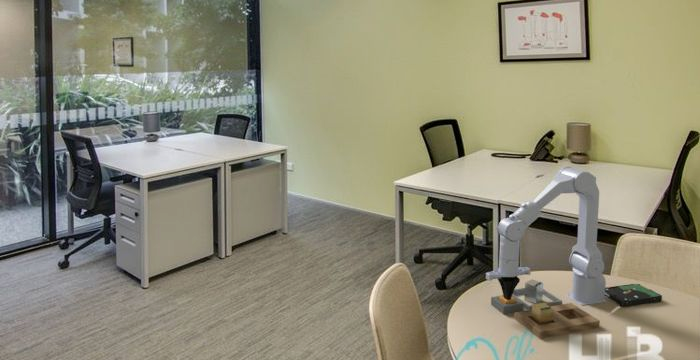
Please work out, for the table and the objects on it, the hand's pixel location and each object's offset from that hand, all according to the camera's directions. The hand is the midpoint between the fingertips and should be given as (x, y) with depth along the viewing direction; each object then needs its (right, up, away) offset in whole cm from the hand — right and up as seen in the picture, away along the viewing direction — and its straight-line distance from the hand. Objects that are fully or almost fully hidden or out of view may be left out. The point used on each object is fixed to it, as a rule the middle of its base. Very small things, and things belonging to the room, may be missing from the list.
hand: (507, 298), depth 158 cm
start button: (0, -3, +1) cm, 3 cm away
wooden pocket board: (+11, -5, -9) cm, 16 cm away
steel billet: (+10, -2, +5) cm, 12 cm away
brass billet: (+7, -5, -11) cm, 14 cm away
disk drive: (+42, -2, +7) cm, 43 cm away
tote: (+10, -2, +6) cm, 12 cm away
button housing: (0, -4, +1) cm, 4 cm away
